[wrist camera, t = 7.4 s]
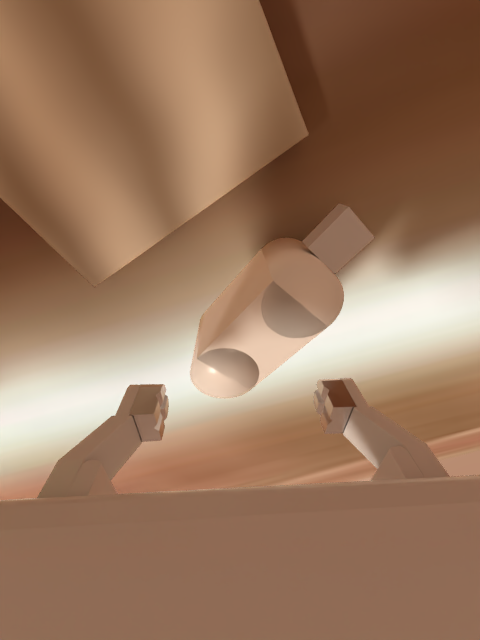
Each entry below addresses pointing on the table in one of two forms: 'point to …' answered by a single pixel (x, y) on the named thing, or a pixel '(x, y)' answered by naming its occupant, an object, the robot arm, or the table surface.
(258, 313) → the connector
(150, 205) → the birch board
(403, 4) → the table surface
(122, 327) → the table surface
